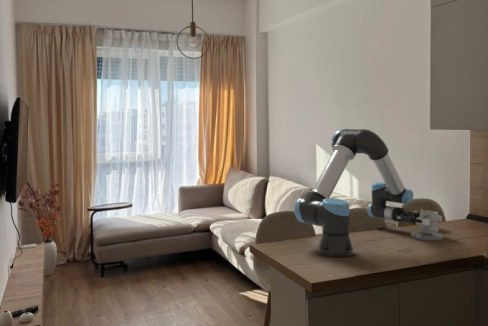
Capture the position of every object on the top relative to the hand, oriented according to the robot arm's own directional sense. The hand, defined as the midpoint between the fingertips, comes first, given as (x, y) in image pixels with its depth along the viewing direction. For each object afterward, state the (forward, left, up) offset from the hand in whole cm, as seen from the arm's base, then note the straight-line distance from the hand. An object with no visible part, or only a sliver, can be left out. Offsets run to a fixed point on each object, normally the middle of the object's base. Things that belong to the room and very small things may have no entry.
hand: (435, 220), depth 225 cm
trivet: (-3, +3, -9) cm, 10 cm away
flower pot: (+1, +22, -9) cm, 24 cm away
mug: (-3, +3, -7) cm, 8 cm away
